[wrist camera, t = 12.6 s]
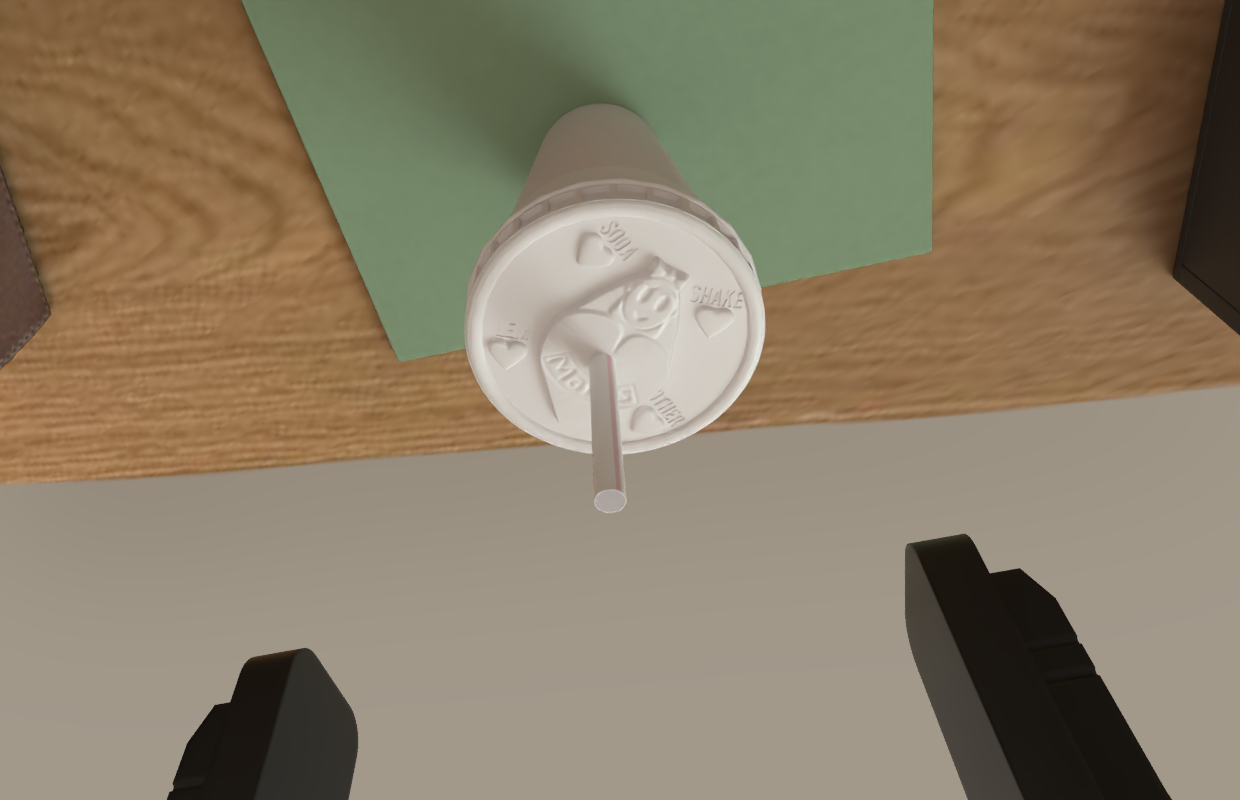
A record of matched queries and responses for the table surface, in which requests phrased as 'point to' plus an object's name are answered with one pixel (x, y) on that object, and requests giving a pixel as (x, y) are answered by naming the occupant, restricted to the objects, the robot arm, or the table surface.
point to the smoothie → (612, 300)
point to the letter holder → (17, 283)
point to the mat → (613, 74)
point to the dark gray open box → (1216, 187)
